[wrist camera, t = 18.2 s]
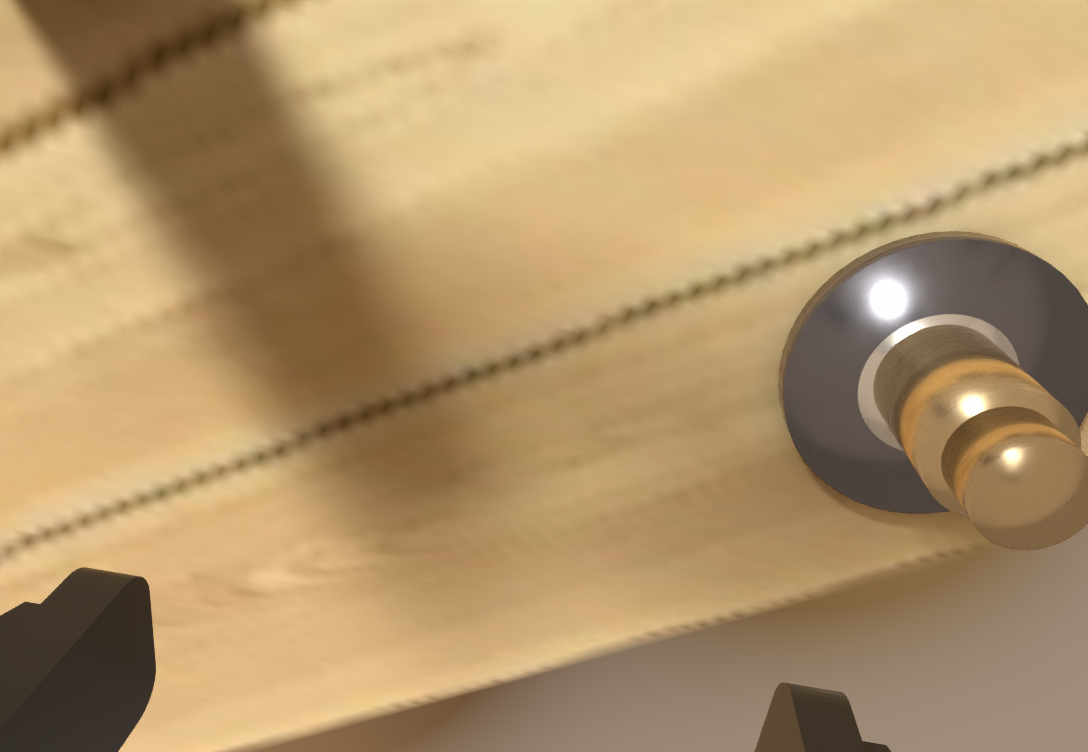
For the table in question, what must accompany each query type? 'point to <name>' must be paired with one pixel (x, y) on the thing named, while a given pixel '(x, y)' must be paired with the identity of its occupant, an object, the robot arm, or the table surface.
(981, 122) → the table surface
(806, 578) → the table surface
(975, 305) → the turntable
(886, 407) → the weight
